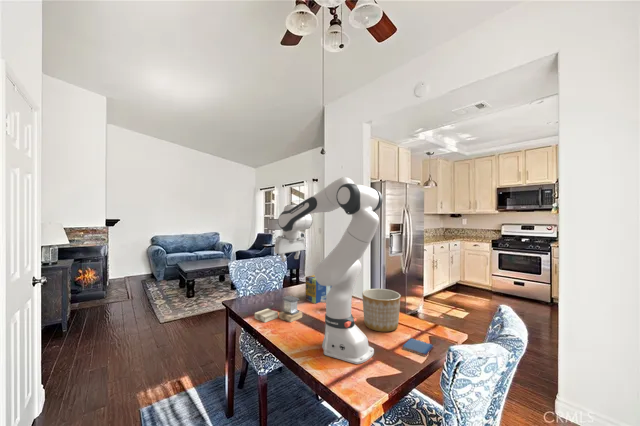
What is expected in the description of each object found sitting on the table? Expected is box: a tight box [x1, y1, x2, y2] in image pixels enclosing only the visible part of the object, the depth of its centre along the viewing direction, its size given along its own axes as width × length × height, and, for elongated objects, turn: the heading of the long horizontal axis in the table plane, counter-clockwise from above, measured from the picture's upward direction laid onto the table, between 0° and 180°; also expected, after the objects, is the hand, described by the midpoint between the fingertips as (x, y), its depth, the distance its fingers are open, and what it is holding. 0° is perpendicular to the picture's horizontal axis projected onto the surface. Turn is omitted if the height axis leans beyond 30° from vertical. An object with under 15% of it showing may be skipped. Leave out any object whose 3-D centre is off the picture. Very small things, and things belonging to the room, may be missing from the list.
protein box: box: [305, 274, 332, 305], centre depth 182 cm, size 10×15×16 cm
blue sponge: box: [401, 337, 434, 357], centre depth 118 cm, size 10×11×2 cm
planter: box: [361, 288, 402, 333], centre depth 141 cm, size 19×19×16 cm
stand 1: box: [254, 308, 279, 323], centre depth 151 cm, size 9×9×3 cm
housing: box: [281, 295, 300, 315], centre depth 151 cm, size 8×5×8 cm, turn 50°
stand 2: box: [278, 310, 303, 323], centre depth 151 cm, size 9×9×3 cm
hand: (290, 260), depth 147 cm, fingers open, 8 cm apart
